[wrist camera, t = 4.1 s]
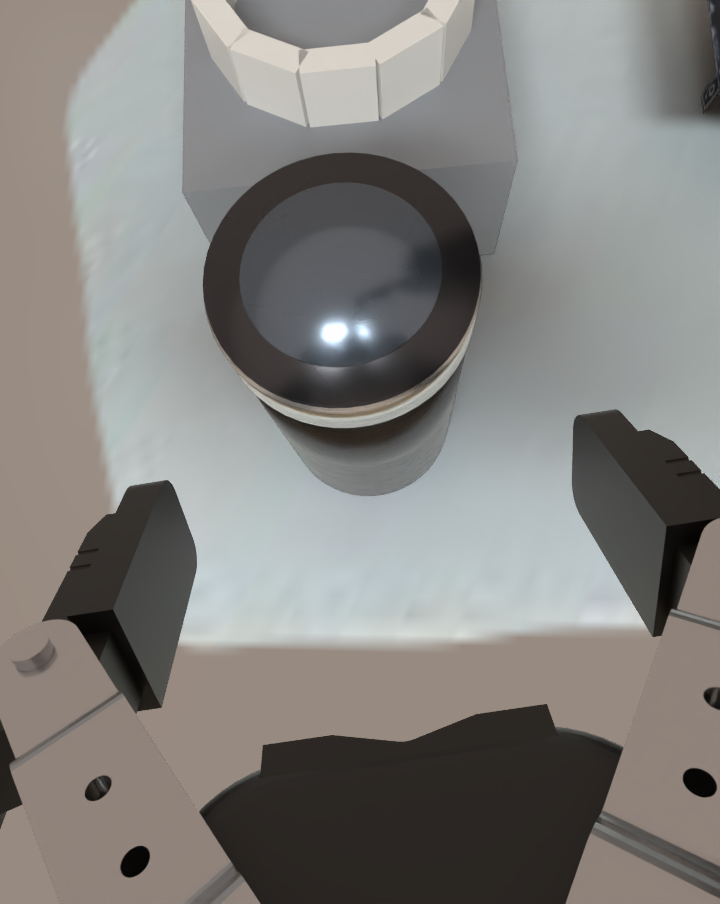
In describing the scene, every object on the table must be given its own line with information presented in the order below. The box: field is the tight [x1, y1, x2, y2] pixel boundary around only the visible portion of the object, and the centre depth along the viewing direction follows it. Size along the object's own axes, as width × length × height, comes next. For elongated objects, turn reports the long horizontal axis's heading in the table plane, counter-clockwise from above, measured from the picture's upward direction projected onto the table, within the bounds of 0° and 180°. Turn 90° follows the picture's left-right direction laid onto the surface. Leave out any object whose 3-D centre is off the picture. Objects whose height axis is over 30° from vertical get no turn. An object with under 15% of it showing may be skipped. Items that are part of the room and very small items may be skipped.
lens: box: [203, 152, 482, 496], centre depth 17 cm, size 6×6×10 cm
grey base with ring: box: [182, 0, 517, 255], centre depth 22 cm, size 10×12×7 cm
